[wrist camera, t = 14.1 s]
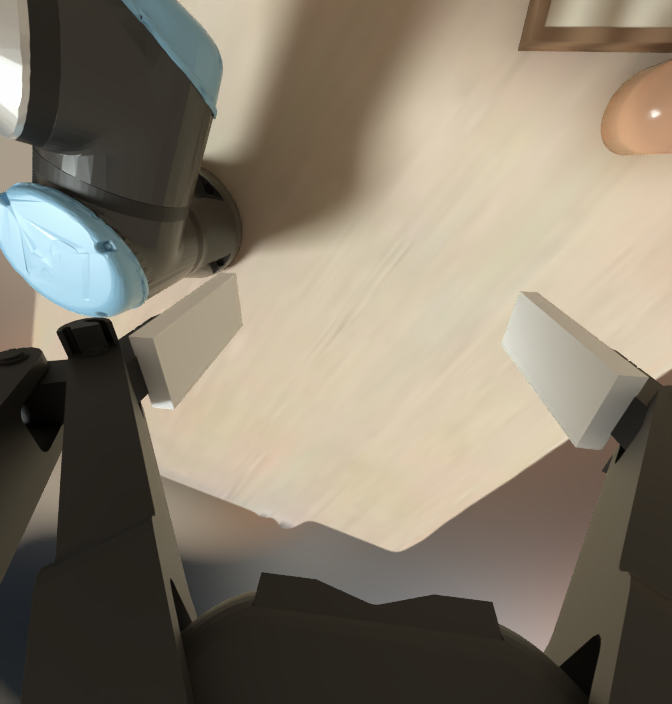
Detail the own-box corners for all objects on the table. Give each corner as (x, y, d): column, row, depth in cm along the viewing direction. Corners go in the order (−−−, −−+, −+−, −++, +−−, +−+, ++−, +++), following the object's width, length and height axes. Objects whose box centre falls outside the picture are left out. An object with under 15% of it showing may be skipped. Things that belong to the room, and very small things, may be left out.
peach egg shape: (588, 154, 37) (630, 151, 31) (621, 65, 33) (676, 42, 27) (660, 156, 37) (716, 154, 31) (702, 66, 33) (777, 43, 27)
